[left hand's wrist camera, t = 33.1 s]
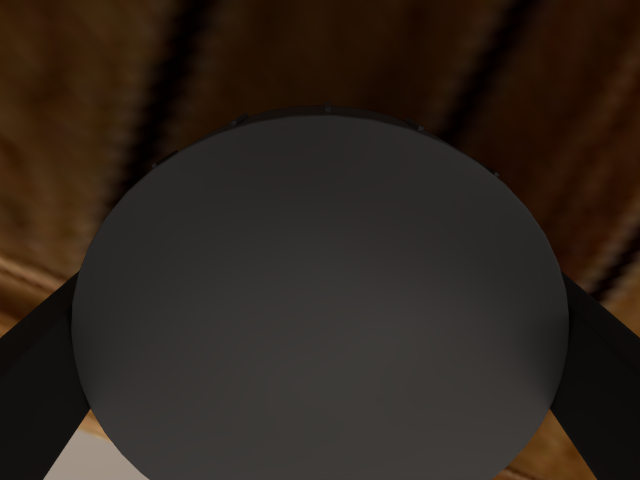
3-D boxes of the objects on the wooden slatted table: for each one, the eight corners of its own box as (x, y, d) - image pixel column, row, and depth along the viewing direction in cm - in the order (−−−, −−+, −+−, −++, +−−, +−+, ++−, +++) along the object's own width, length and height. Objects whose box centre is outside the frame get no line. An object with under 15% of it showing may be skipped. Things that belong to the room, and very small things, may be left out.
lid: (518, 48, 10) (566, 44, 8) (542, 441, 14) (578, 503, 12) (36, 162, 11) (-26, 183, 9) (190, 500, 15) (170, 566, 13)
